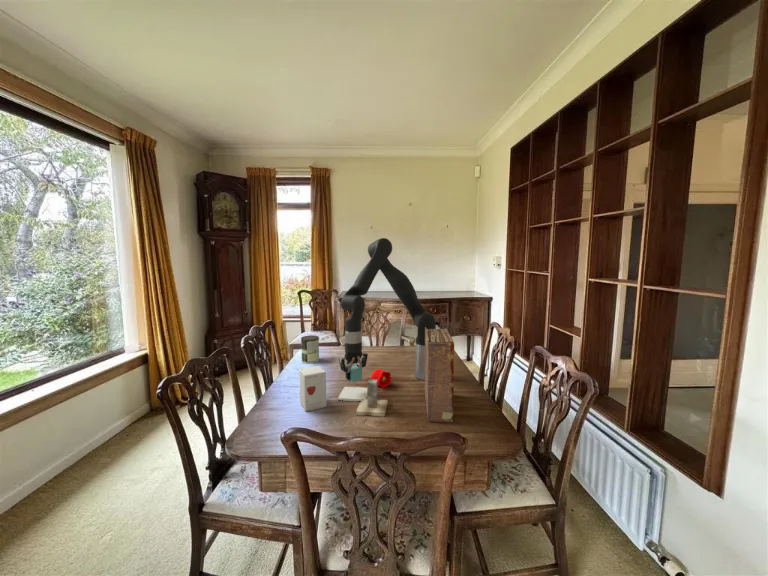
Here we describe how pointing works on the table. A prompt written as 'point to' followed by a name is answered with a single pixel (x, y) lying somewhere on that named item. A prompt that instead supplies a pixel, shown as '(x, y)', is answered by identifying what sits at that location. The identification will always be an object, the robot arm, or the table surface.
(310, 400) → the supplement box
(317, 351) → the coffee can
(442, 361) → the book
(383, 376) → the flower
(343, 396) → the pad
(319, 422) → the table surface
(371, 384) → the post stand
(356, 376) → the teal cube block
